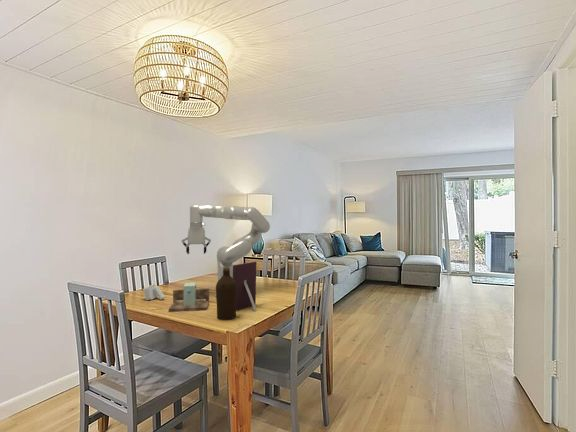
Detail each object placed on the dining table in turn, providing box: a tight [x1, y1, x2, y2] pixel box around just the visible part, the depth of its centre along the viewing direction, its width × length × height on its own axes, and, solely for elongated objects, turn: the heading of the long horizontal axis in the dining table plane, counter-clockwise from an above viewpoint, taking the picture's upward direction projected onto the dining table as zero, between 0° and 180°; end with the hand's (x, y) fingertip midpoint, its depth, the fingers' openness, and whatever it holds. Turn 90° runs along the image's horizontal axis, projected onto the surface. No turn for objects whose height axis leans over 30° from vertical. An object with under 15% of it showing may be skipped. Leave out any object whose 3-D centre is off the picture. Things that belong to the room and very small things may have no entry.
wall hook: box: [143, 284, 166, 301], centre depth 198 cm, size 8×10×10 cm
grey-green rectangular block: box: [183, 282, 197, 306], centre depth 181 cm, size 6×9×11 cm
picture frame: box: [233, 261, 258, 312], centre depth 176 cm, size 17×10×25 cm, turn 141°
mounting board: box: [168, 288, 210, 313], centre depth 180 cm, size 20×14×8 cm
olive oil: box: [215, 267, 237, 321], centre depth 163 cm, size 11×11×25 cm
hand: (196, 253), depth 195 cm, fingers open, 9 cm apart
